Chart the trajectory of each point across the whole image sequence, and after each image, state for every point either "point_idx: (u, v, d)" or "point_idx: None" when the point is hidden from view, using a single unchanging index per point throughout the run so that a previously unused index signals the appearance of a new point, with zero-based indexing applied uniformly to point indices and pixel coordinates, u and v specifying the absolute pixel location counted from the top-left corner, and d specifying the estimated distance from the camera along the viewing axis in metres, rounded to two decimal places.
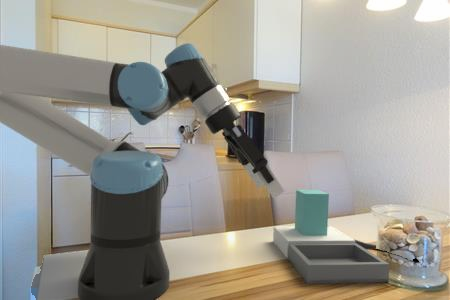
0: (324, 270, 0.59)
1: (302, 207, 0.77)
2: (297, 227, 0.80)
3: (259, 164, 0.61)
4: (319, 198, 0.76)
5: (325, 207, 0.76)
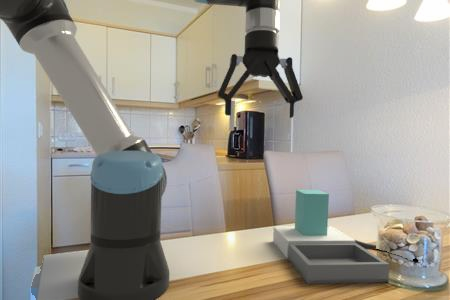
0: (324, 270, 0.59)
1: (302, 207, 0.77)
2: (297, 227, 0.80)
3: None
4: (319, 198, 0.76)
5: (325, 207, 0.76)
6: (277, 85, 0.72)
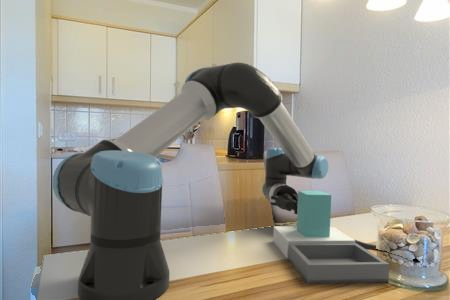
0: (324, 270, 0.59)
1: (304, 208, 0.75)
2: (299, 228, 0.79)
3: None
4: (321, 199, 0.75)
5: (327, 208, 0.75)
6: None
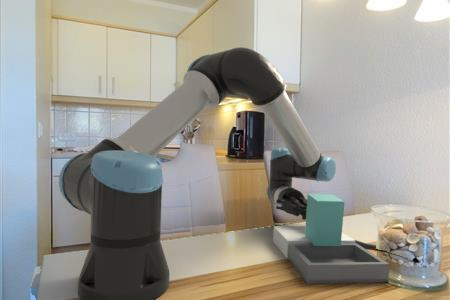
0: (324, 270, 0.59)
1: (314, 215, 0.69)
2: (308, 235, 0.73)
3: None
4: (333, 206, 0.68)
5: (340, 216, 0.69)
6: None
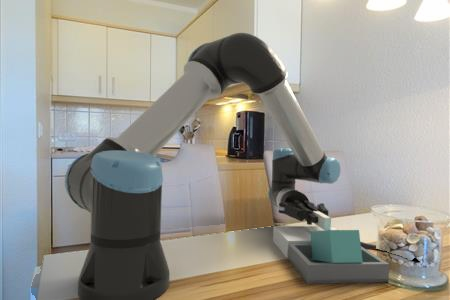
0: (324, 270, 0.59)
1: (324, 255, 0.64)
2: (312, 240, 0.70)
3: None
4: None
5: None
6: None
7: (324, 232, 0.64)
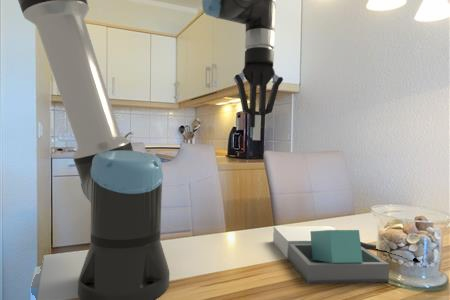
0: (324, 270, 0.59)
1: (324, 255, 0.64)
2: (312, 240, 0.70)
3: (271, 111, 0.84)
4: None
5: None
6: (260, 95, 0.84)
7: (324, 232, 0.64)
